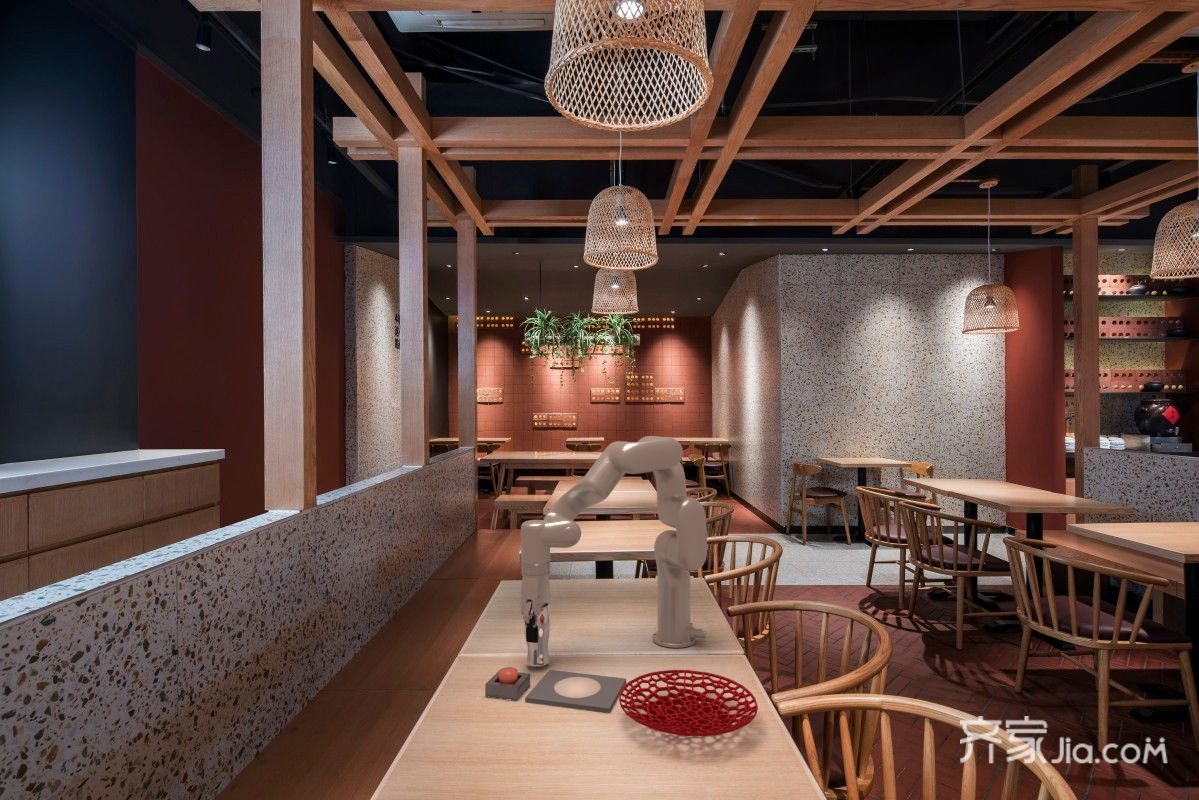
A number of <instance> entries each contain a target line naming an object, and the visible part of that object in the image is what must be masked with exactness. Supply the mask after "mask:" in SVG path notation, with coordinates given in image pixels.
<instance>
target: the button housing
mask: <svg viewBox="0 0 1199 800" xmlns="http://www.w3.org/2000/svg"><path fill="white" fill-rule="evenodd" d="M530 687H531V673H528V672H519V671H518V681H517V682H516V683H515V684H506V683H499V670H498V671H497V672H496V673H495V674H494V675H493V676H492V677H491V678H489V679H488V680H487V682H486V683H485V689H484V690H485V692H484V693H485V696H489V697H488V698H491V697H496V698H495V699H499V698H502V699H501V700H506V699H511V700H510V701H514V700H515V702H518V701H519V700H520V698H521V697H522V696H523V695H524V694H525V693H526V692H527V691H528V690H529V688H530ZM525 691H526V692H525ZM524 692H525V693H524ZM517 700H518V701H517Z"/></svg>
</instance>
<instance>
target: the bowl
mask: <svg viewBox="0 0 1199 800" xmlns="http://www.w3.org/2000/svg"><path fill="white" fill-rule="evenodd" d="M680 674H683V675H680ZM687 674H690V676H687ZM661 675H662V676H661ZM696 675H699V676H696ZM653 676H656V677H657V678H654V677H653ZM674 676H676V677H674ZM649 677H650V678H649ZM646 678H649V679H646ZM714 678H716V679H718V680H716V679H714ZM678 680H683V682H681V681H678ZM686 680H687V681H690V682H691V683H690V682H686ZM706 680H707V681H709V682H707V681H706ZM696 681H701V682H698V683H694V682H696ZM724 681H725V682H724ZM651 682H653V683H651ZM658 682H662V683H664V684H666V686H660V687H659V686H658V684H657V683H658ZM634 683H636V684H634ZM633 684H634V685H633ZM642 684H648V687H642V686H641V685H642ZM730 684H732V685H734V686H735V687H734V686H730ZM628 687H630V688H629V689H628ZM679 687H683V688H679ZM707 687H712V688H714V689H708V688H707ZM637 688H638V689H637ZM651 688H655V689H654V690H652V689H651ZM689 688H691V689H689ZM694 688H702V689H703V691H701V692H700V691H697V690H695V689H694ZM726 688H727V689H726ZM717 689H719V690H721V689H722V691H721V692H720V693H719V692H718V691H717ZM739 689H742V691H740V692H739V691H737V690H739ZM671 691H675V692H677V693H675V692H671ZM624 692H626V693H624ZM659 692H667V695H659V694H658V693H659ZM645 693H649V694H648V695H646V694H645ZM686 694H688V695H686ZM708 694H711V695H715V696H716V698H714V697H710V696H708ZM725 694H731V695H732V696H728V697H725V696H724V695H725ZM622 697H623V698H624V699H623V698H622ZM639 697H642V698H644V699H641V698H639ZM749 697H751V700H748V699H747V698H749ZM652 698H655V699H656V700H651V699H652ZM627 699H628V700H629V701H628V700H627ZM741 699H744V701H740V700H741ZM756 699H757V698H756V697H755V695H754V694H753V692H751V691H750V690H749V689H748V688H746V687H745V686H744V685H743V684H740V682H737V681H735V680H734V679H732V678H729V677H726V676H723V675H719V674H716V673H712V672H707V671H699V670H691V669H669V670H668V669H667V670H657V671H651V672H648V673H645V674H642V675H639V676H637V677H635V678H633V679H631V680H629V681H628V682H626V684H625V686H623V688H622V690H621V691H620V695H619V697H618V701H619V707H620V708H621V709H622V710H623V712H624V714H625V715H626V716H627V717H629V718H630V719H631V720H633V721H634V722H636V723H638V724H640V725H642V726H644V727H646V728H648V729H651V730H655V731H658V732H661V733H665V734H670V735H676V736H683V737H708V736H711V737H712V736H720V735H723V734H728V733H733V732H735V731H738V730H740V729H742V728H743V727H746V726H748V725H749V724H750V723H751V722H752V721H753V720H754V719H755V718H756V716H757V713H758V711H759V705H758V703H757V700H756ZM733 701H734V702H736V705H731V706H729V705H728V704H726V703H729V702H733ZM636 703H638V704H636ZM753 703H754V705H753V706H751V705H752V704H753ZM740 706H744V707H740ZM739 707H740V708H739ZM639 710H642V711H643V712H645V713H641V712H640V711H639ZM734 711H736V713H730V712H734ZM746 713H747V714H746ZM753 713H754V714H753Z"/></svg>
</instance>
